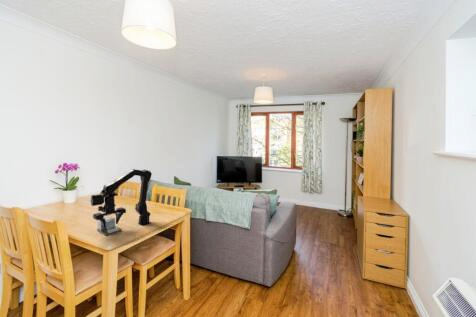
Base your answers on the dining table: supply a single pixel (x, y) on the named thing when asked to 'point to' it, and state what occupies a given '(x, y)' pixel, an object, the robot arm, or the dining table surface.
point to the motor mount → (102, 229)
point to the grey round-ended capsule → (110, 224)
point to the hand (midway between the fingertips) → (110, 225)
